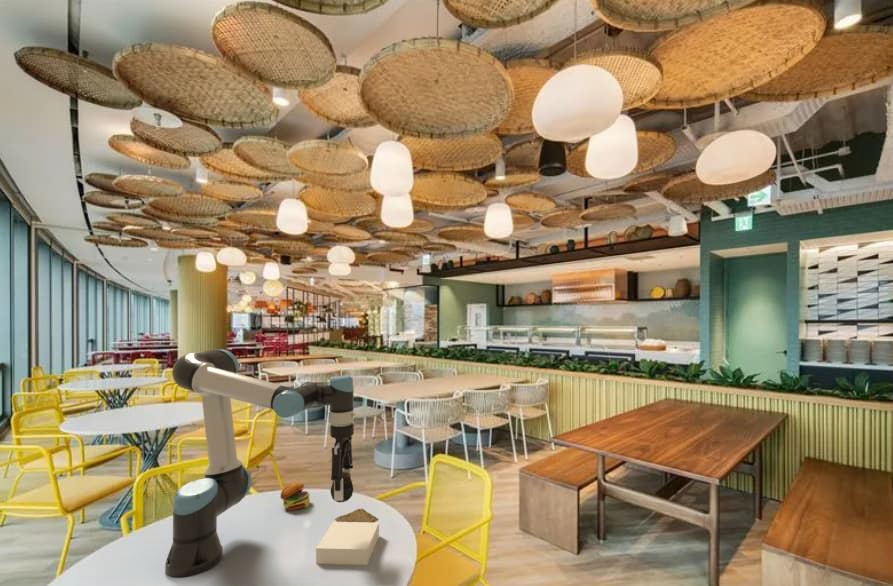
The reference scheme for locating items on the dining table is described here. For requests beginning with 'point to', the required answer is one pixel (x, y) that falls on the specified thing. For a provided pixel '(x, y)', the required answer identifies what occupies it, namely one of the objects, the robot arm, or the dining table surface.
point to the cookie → (357, 517)
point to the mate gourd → (344, 487)
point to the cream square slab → (348, 543)
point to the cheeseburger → (295, 497)
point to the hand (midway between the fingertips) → (342, 494)
